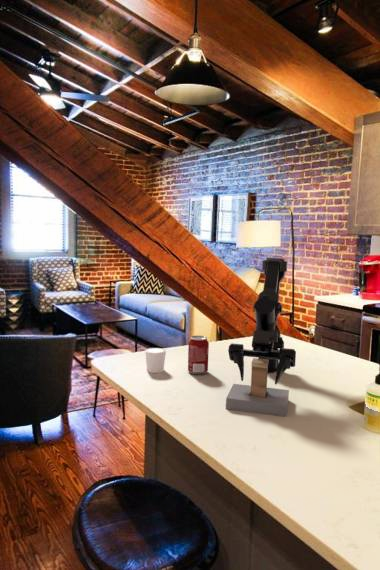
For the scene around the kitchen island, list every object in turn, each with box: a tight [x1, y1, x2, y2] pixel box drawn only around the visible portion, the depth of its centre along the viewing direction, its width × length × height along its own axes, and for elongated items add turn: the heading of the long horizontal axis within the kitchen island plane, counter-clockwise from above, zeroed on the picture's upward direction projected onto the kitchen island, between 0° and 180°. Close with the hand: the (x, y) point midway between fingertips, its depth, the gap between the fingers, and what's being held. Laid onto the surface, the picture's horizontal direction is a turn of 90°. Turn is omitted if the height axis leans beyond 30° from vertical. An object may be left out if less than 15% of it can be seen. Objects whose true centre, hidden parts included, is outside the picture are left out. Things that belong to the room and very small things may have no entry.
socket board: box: [225, 383, 290, 417], centre depth 126 cm, size 12×16×3 cm
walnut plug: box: [250, 357, 269, 398], centre depth 126 cm, size 4×4×12 cm
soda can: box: [187, 335, 210, 376], centre depth 152 cm, size 7×7×12 cm
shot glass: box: [145, 347, 167, 374], centre depth 154 cm, size 7×7×7 cm
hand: (258, 381), depth 125 cm, fingers open, 9 cm apart
